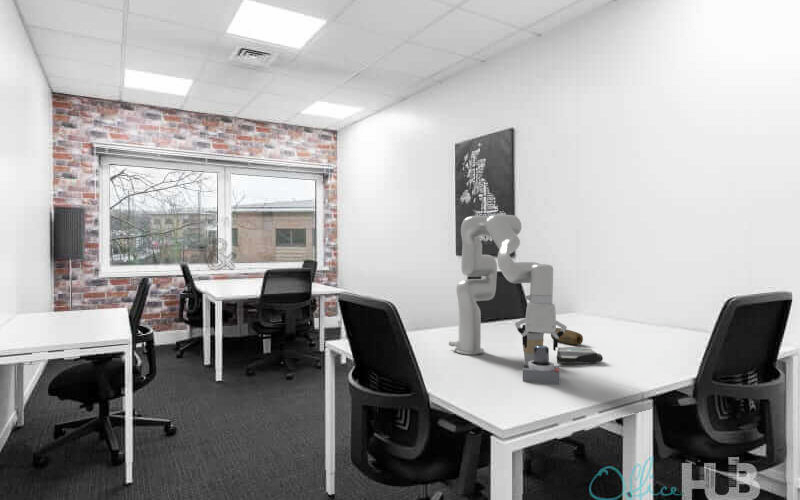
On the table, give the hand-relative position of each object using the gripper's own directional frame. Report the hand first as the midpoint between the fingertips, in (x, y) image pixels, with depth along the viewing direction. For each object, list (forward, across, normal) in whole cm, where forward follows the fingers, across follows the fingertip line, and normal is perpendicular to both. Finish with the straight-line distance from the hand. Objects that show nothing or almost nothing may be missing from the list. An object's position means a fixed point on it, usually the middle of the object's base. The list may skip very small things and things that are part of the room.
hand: (539, 348), depth 166 cm
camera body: (+11, +1, -1) cm, 11 cm away
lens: (+7, +1, -1) cm, 7 cm away
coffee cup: (+11, -3, +20) cm, 23 cm away
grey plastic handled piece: (+12, +14, +32) cm, 36 cm away
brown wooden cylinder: (+12, +11, +66) cm, 68 cm away
